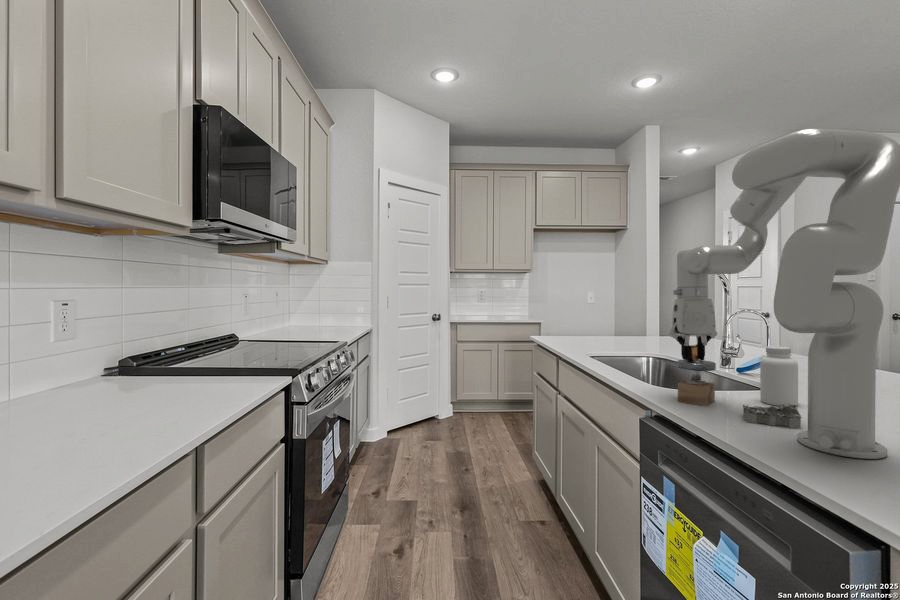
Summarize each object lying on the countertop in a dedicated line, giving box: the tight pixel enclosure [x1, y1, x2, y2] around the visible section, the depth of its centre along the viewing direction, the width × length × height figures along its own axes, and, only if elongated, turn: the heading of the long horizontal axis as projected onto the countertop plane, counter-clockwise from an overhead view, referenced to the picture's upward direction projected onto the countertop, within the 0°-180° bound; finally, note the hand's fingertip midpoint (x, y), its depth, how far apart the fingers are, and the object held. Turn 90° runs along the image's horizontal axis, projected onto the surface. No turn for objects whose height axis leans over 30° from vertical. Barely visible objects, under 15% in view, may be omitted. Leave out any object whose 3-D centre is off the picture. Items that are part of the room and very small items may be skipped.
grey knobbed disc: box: [677, 344, 717, 381], centre depth 115 cm, size 10×9×9 cm
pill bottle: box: [759, 345, 799, 407], centre depth 112 cm, size 8×8×15 cm
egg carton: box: [742, 404, 803, 429], centre depth 97 cm, size 11×8×4 cm
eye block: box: [677, 379, 716, 407], centre depth 115 cm, size 7×7×6 cm
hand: (693, 358), depth 118 cm, fingers open, 3 cm apart
